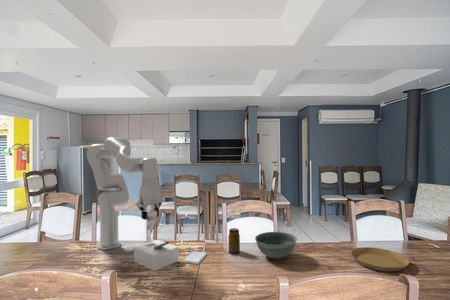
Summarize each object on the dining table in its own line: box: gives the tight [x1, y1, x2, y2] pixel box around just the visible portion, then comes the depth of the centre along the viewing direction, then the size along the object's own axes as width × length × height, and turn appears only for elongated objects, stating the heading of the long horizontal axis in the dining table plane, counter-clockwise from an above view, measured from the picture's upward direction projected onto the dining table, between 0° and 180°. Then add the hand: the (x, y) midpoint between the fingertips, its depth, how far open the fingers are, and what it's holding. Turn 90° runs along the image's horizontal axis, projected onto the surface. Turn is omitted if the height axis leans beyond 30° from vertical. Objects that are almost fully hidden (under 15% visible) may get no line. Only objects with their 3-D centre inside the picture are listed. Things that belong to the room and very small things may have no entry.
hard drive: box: [182, 251, 208, 265], centre depth 132 cm, size 2×8×12 cm
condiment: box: [225, 227, 246, 257], centre depth 139 cm, size 7×8×12 cm
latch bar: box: [153, 241, 170, 249], centre depth 126 cm, size 7×5×1 cm
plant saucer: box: [350, 246, 410, 273], centre depth 125 cm, size 24×24×3 cm
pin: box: [146, 208, 158, 231], centre depth 132 cm, size 6×6×9 cm
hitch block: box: [133, 239, 179, 272], centre depth 129 cm, size 17×14×7 cm
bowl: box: [254, 231, 297, 261], centre depth 133 cm, size 21×21×10 cm
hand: (150, 217), depth 132 cm, fingers closed on pin, 6 cm apart
